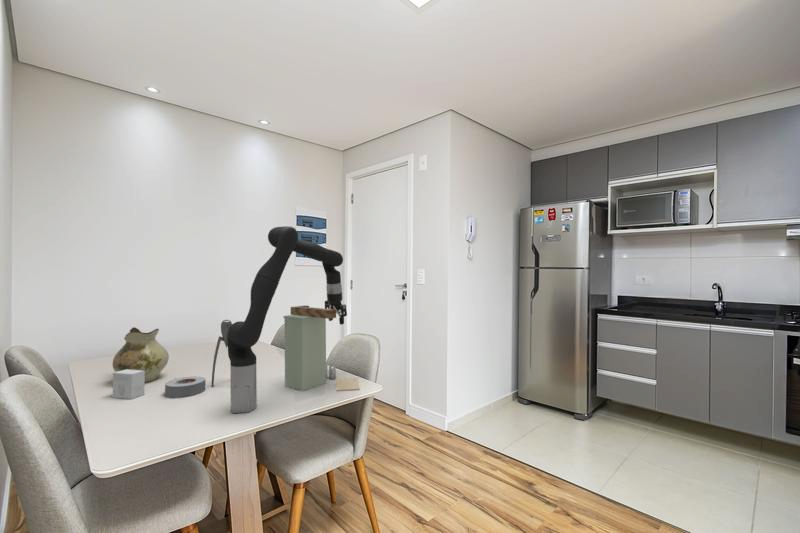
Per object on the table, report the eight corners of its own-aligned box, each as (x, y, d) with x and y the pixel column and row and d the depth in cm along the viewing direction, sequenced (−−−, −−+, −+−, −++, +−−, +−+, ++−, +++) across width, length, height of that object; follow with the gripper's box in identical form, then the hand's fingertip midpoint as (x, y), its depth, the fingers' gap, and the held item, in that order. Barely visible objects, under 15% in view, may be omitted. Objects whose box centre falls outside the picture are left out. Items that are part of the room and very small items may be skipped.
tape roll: (193, 384, 175) (192, 374, 175) (212, 390, 167) (212, 378, 167) (157, 394, 162) (157, 382, 162) (177, 401, 154) (177, 388, 154)
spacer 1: (327, 378, 183) (327, 366, 183) (320, 379, 182) (320, 366, 182) (327, 376, 186) (327, 364, 186) (321, 377, 185) (320, 365, 185)
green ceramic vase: (148, 387, 171) (148, 332, 171) (97, 387, 172) (97, 332, 172) (178, 373, 194) (178, 324, 194) (133, 374, 194) (132, 325, 194)
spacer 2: (335, 379, 181) (335, 367, 181) (329, 379, 181) (328, 367, 181) (335, 377, 185) (335, 365, 185) (329, 377, 184) (329, 365, 184)
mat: (359, 389, 166) (359, 388, 166) (336, 391, 164) (336, 389, 164) (357, 379, 182) (357, 377, 182) (336, 380, 180) (336, 379, 180)
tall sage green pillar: (327, 382, 176) (326, 314, 176) (302, 391, 164) (301, 318, 164) (309, 378, 184) (308, 312, 183) (283, 386, 172) (283, 316, 172)
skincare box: (145, 394, 162) (145, 370, 162) (131, 399, 156) (131, 374, 156) (126, 392, 165) (126, 368, 165) (112, 397, 158) (111, 372, 158)
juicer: (211, 386, 172) (210, 320, 172) (232, 380, 181) (231, 317, 181) (225, 390, 167) (225, 322, 167) (246, 383, 177) (245, 319, 177)
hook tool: (343, 316, 169) (343, 308, 169) (329, 318, 162) (329, 310, 162) (304, 312, 184) (304, 305, 184) (290, 314, 177) (290, 307, 177)
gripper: (319, 290, 190) (321, 321, 193) (337, 295, 180) (339, 327, 184) (331, 287, 195) (333, 317, 198) (349, 292, 186) (351, 323, 189)
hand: (336, 322), depth 191 cm, fingers open, 8 cm apart
